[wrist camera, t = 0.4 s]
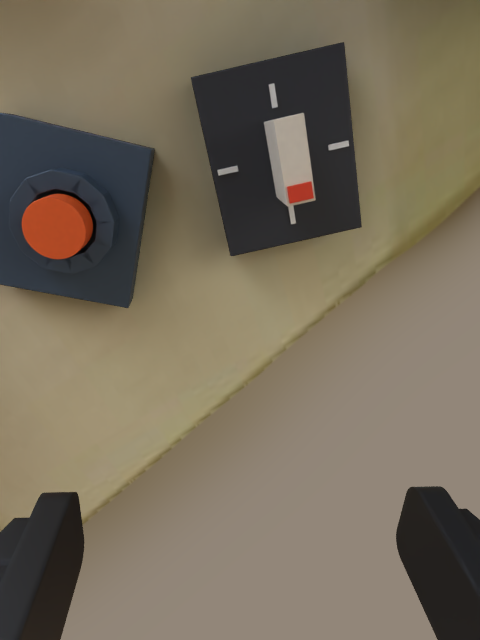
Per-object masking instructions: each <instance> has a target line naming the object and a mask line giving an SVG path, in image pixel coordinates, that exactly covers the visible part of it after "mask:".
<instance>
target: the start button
mask: <svg viewBox="0 0 480 640" xmlns="http://www.w3.org/2000/svg"><path fill="white" fill-rule="evenodd" d="M22 231H23V234H24V237H25V239H26V240H27V242H28V244H29V245H30V246H31V247H32V248H33V249H34V250H35V251H36V252H38V253H39V254H41V255H43V256H45V257H48V258H51V259H65V258H69V257H71V256H73V255H75V254H76V253H77V252H78V251H80V250H81V249H82V248H83V247H84V246H85V245H86V244H87V243H88V241H89V240H90V238H91V236H92V232H93V222H92V218H91V215H90V213H89V211H88V210H87V208H86V207H85V206H84V205H83V204H82V203H81V202H80V201H79V200H77V199H76V198H74V197H72V196H69V195H66V194H52V195H49V196H46V197H43V198H41V199H38V200H36V201H34V202H32V203H31V204H30V205H29V206H28V207H27V208H26V210H25V212H24V214H23V217H22Z"/></svg>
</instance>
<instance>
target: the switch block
mask: <svg viewBox="0 0 480 640" xmlns="http://www.w3.org/2000/svg"><path fill="white" fill-rule="evenodd" d="M154 152H155V149H154V148H150V147H146V146H141V145H137V144H133V143H129V142H125V141H121V140H117V139H113V138H109V137H104V136H100V135H96V134H92V133H88V132H84V131H80V130H76V129H71V128H67V127H63V126H59V125H55V124H51V123H47V122H43V121H38V120H34V119H30V118H26V117H22V116H18V115H14V114H6V113H0V285H6V286H11V287H17V288H22V289H27V290H33V291H38V292H44V293H49V294H55V295H60V296H65V297H71V298H76V299H82V300H87V301H93V302H98V303H103V304H109V305H114V306H120V307H125V308H129V305H130V303H131V301H132V299H133V293H134V286H135V280H136V273H137V266H138V259H139V253H140V246H141V239H142V232H143V226H144V219H145V212H146V206H147V199H148V192H149V185H150V179H151V172H152V165H153V158H154ZM52 194H66V195H69V196H72V197H74V198H76V199H77V200H79V201H80V202H81V203H82V204H83V205H84V206H85V207H86V208H87V210H88V211H89V213H90V215H91V218H92V222H93V232H92V236H91V238H90V240H89V241H88V243H87V244H86V245H85V246H84V247H83V248H82V249H81V250H80V251H78V252H77V253H76V254H75V255H73V256H71V257H69V258H65V259H51V258H48V257H45V256H43V255H41V254H39V253H38V252H36V251H35V250H34V249H33V248H32V247H31V246H30V245H29V244H28V242H27V240H26V239H25V237H24V234H23V231H22V217H23V214H24V212H25V210H26V208H27V207H28V206H29V205H30V204H31V203H32V202H34V201H36V200H38V199H41V198H43V197H46V196H49V195H52Z"/></svg>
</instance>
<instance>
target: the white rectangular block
mask: <svg viewBox="0 0 480 640" xmlns="http://www.w3.org/2000/svg"><path fill="white" fill-rule="evenodd" d="M264 126H265V132H266V138H267V144H268V150H269V156H270V162H271V168H272V174H273V179H274V185H275V191H276V197H277V198H278V199H279V200H280V201H282V202H283V203H284V204H285V205H286V206H287V207H289V206H293V205H298V204H302V203H306V202H311V201H315V200H316V199H315V192H314V184H313V177H312V169H311V162H310V154H309V147H308V140H307V132H306V125H305V117H304V113H300V114H296V115H292V116H287V117H283V118H278V119H274V120H270V121H266V122H264Z"/></svg>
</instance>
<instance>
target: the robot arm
mask: <svg viewBox="0 0 480 640" xmlns="http://www.w3.org/2000/svg"><path fill="white" fill-rule="evenodd" d="M396 541H397V548H398V552H399V555H400V558H401V560H402V562H403V565H404V567H405V569H406V571H407V574H408V576H409V578H410V580H411V582H412V585H413V586H414V589H415V591H416V593H417V595H418V598H419V600H420V602H421V604H422V606H423V609H424V611H425V613H426V615H427V617H428V620H429V622H430V624H431V626H432V628H433V630H434V633H435V635H436V637H437V639H438V640H480V520H479V519H478V518H477V517H476V516H474V515H473V514H472V513H471V512H470V511H469V510H467V509H458V507H457V506H456V504H455V503H454V501H453V500H452V499H451V497H450V495H449V494H448V492H447V491H446V490H445V489H444V488H442V487H410V488H409V489H408V491H407V493H406V497H405V501H404V505H403V508H402V512H401V516H400V520H399V524H398V527H397V534H396ZM83 552H84V534H83V527H82V519H81V512H80V504H79V497H78V494H77V493H76V492H56V493H42V494H41V495H40V497H39V499H38V501H37V503H36V505H35V507H34V509H33V511H32V514H31V516H30V518H14V519H13V520H12V521H11V522H10V523H9V524H8V525H7V526H6V527H5V528H4V529H3V530H2V531H1V532H0V640H60V639H61V635H62V632H63V628H64V625H65V621H66V617H67V614H68V610H69V607H70V604H71V600H72V597H73V593H74V589H75V586H76V583H77V579H78V576H79V572H80V569H81V564H82V559H83Z"/></svg>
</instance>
